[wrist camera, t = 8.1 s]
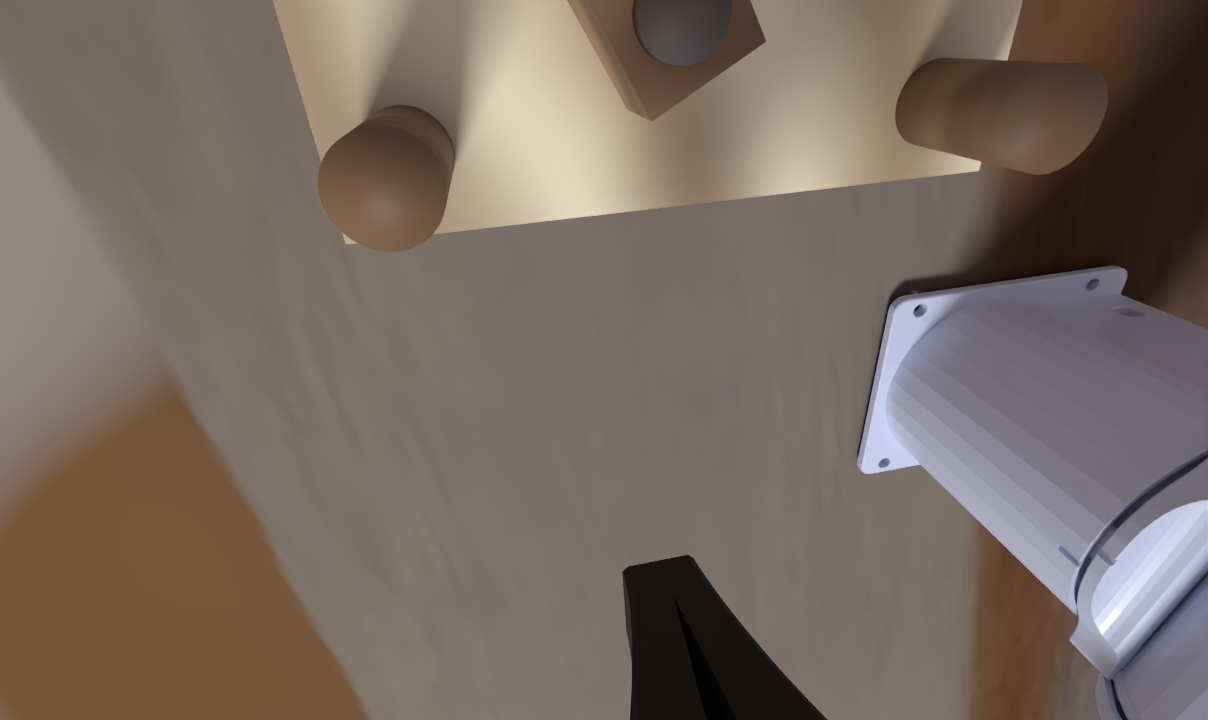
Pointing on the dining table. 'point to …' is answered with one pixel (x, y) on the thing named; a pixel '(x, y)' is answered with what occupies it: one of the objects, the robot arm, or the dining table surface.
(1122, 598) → the robot arm
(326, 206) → the stool seat
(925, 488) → the dining table surface
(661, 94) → the folding leg
